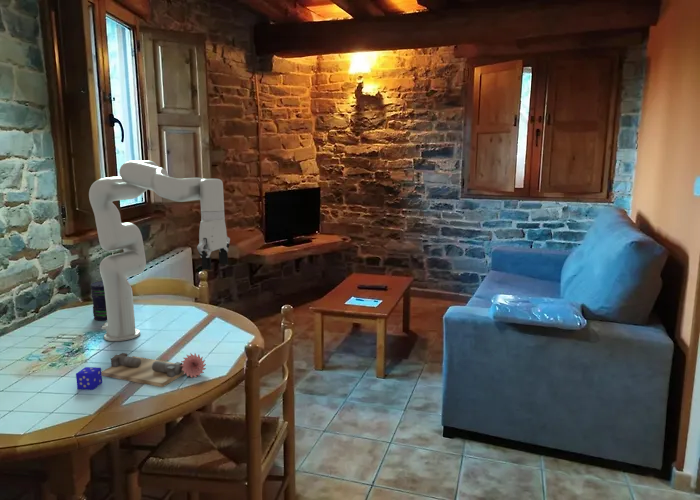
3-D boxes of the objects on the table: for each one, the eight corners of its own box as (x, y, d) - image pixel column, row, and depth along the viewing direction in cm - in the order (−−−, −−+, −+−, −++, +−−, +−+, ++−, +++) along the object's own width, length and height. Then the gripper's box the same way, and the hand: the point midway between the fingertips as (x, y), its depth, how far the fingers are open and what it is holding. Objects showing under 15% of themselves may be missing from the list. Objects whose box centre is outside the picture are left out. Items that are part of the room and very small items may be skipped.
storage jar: (102, 313, 232) (99, 280, 230) (123, 314, 231) (121, 280, 228) (88, 320, 223) (85, 285, 220) (110, 321, 221) (107, 286, 219)
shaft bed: (99, 375, 168) (98, 362, 167) (132, 359, 181) (131, 347, 180) (163, 387, 159) (162, 374, 158) (193, 369, 172) (192, 357, 171)
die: (87, 382, 163) (85, 366, 162) (102, 383, 163) (101, 367, 162) (77, 389, 158) (75, 373, 157) (93, 390, 158) (91, 374, 157)
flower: (182, 352, 171) (186, 347, 166) (206, 359, 173) (210, 355, 169) (174, 376, 167) (178, 372, 162) (199, 383, 169) (203, 379, 165)
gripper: (218, 212, 188) (220, 260, 191) (187, 218, 172) (190, 270, 175) (236, 213, 185) (238, 262, 188) (206, 219, 169) (209, 272, 172)
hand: (215, 266), depth 181 cm, fingers open, 9 cm apart
